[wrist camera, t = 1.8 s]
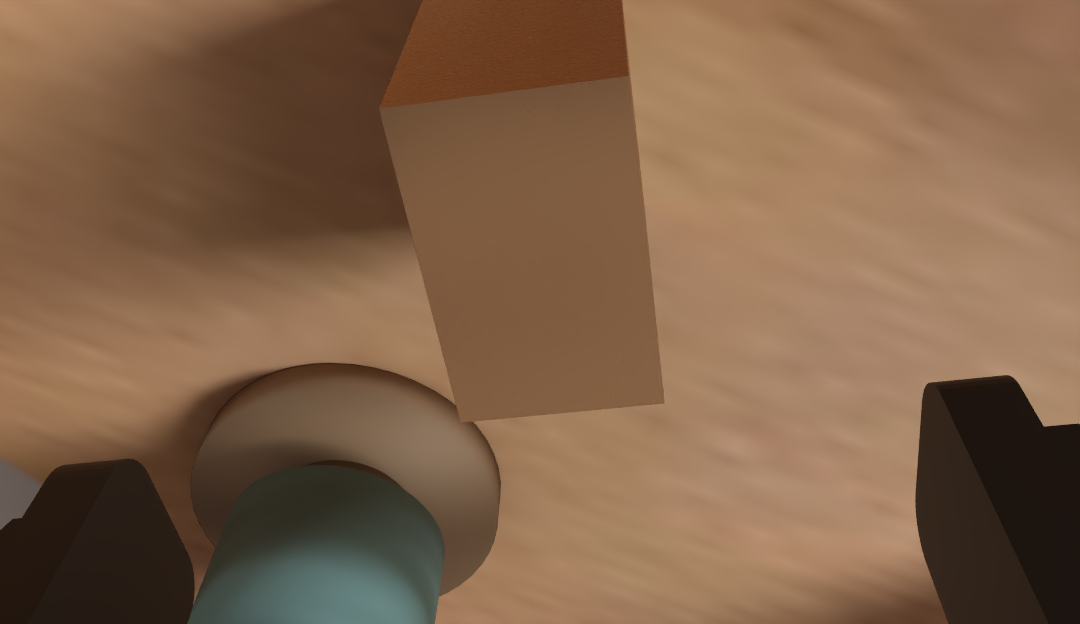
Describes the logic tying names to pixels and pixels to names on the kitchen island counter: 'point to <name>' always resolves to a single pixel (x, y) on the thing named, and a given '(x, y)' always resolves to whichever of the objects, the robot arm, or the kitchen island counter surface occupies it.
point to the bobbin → (340, 500)
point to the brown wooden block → (527, 203)
